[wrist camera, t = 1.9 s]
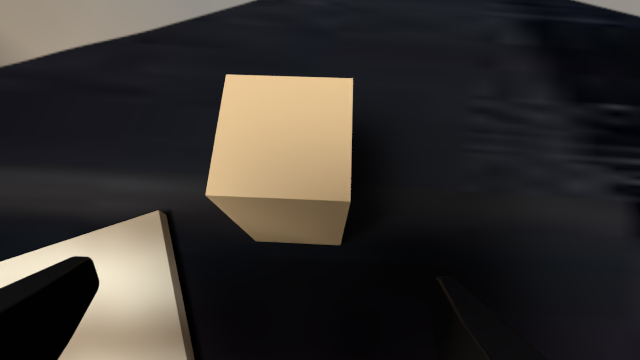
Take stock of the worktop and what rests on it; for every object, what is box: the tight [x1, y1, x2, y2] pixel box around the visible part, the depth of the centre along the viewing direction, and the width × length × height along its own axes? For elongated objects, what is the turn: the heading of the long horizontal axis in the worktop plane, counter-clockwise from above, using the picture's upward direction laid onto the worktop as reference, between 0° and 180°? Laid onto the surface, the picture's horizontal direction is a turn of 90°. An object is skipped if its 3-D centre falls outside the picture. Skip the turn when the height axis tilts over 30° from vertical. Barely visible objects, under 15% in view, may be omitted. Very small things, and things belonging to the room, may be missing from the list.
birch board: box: [0, 210, 195, 360], centre depth 18 cm, size 12×12×1 cm
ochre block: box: [206, 75, 353, 245], centre depth 17 cm, size 5×5×9 cm
